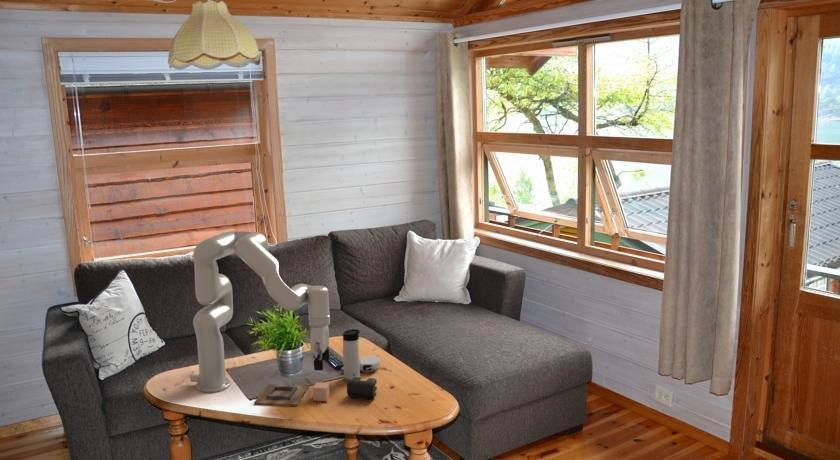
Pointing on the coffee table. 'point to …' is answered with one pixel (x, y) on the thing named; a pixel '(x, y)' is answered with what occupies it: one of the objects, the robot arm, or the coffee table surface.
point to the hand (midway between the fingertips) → (321, 364)
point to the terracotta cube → (321, 391)
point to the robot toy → (368, 363)
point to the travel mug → (351, 354)
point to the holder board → (281, 395)
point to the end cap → (362, 388)
